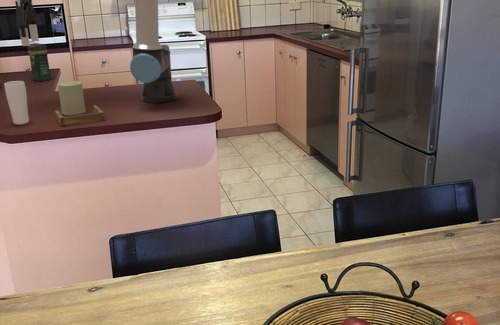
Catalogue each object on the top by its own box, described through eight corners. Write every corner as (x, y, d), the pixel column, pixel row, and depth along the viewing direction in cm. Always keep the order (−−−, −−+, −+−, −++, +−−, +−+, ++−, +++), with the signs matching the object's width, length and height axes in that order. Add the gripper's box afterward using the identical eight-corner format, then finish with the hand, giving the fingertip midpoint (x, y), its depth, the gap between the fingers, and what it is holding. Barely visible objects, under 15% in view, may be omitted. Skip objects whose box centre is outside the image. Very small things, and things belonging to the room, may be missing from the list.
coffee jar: (53, 79, 266) (48, 43, 260) (38, 82, 261) (32, 44, 255) (45, 77, 273) (39, 41, 266) (30, 79, 268) (24, 43, 261)
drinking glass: (25, 119, 195) (18, 80, 190) (34, 122, 191) (28, 82, 186) (8, 123, 191) (0, 83, 185) (17, 126, 186) (9, 85, 181)
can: (78, 115, 199) (74, 84, 195) (56, 114, 201) (52, 84, 197) (90, 109, 208) (86, 79, 204) (69, 108, 210) (65, 79, 205)
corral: (55, 118, 196) (54, 110, 195) (96, 112, 203) (95, 105, 202) (61, 126, 186) (60, 118, 184) (104, 120, 192) (103, 112, 191)
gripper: (20, -15, 208) (29, 39, 216) (0, -13, 185) (11, 48, 192) (39, -15, 209) (48, 39, 217) (22, -13, 186) (32, 47, 193)
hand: (30, 43), depth 205 cm, fingers open, 13 cm apart
